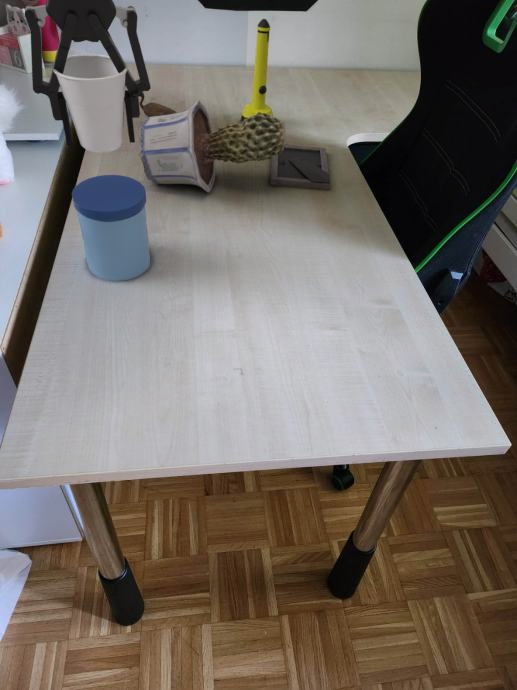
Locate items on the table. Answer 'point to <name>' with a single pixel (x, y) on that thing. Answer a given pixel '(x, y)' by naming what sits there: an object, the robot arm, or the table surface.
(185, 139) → the potted plant
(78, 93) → the cup
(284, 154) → the picture frame
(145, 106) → the figurine
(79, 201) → the blue lidded canister
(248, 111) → the flashlight
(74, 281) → the table surface
